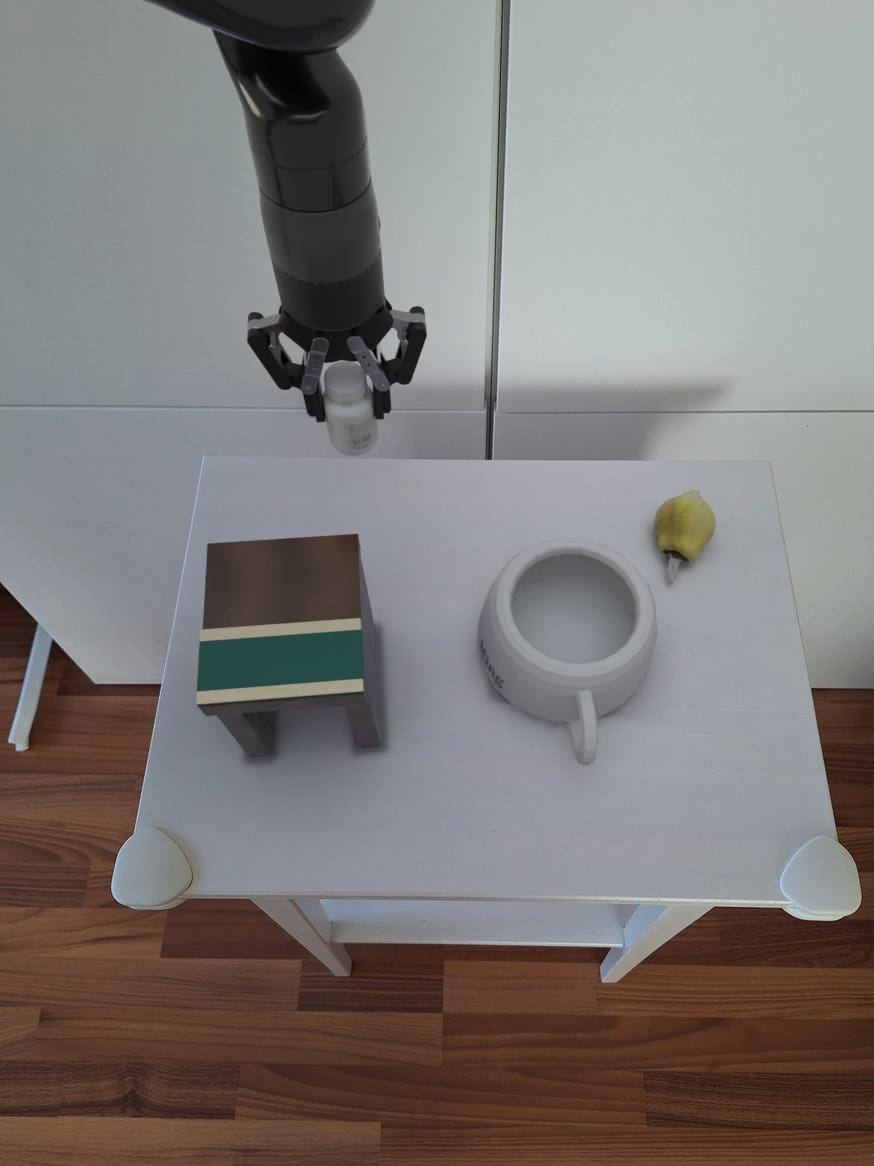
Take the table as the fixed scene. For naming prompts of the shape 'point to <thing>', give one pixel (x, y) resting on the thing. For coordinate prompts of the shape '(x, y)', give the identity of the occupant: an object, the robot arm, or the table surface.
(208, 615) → the stool
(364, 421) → the pill bottle
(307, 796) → the table surface
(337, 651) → the towel
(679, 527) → the fruit
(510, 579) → the mug
